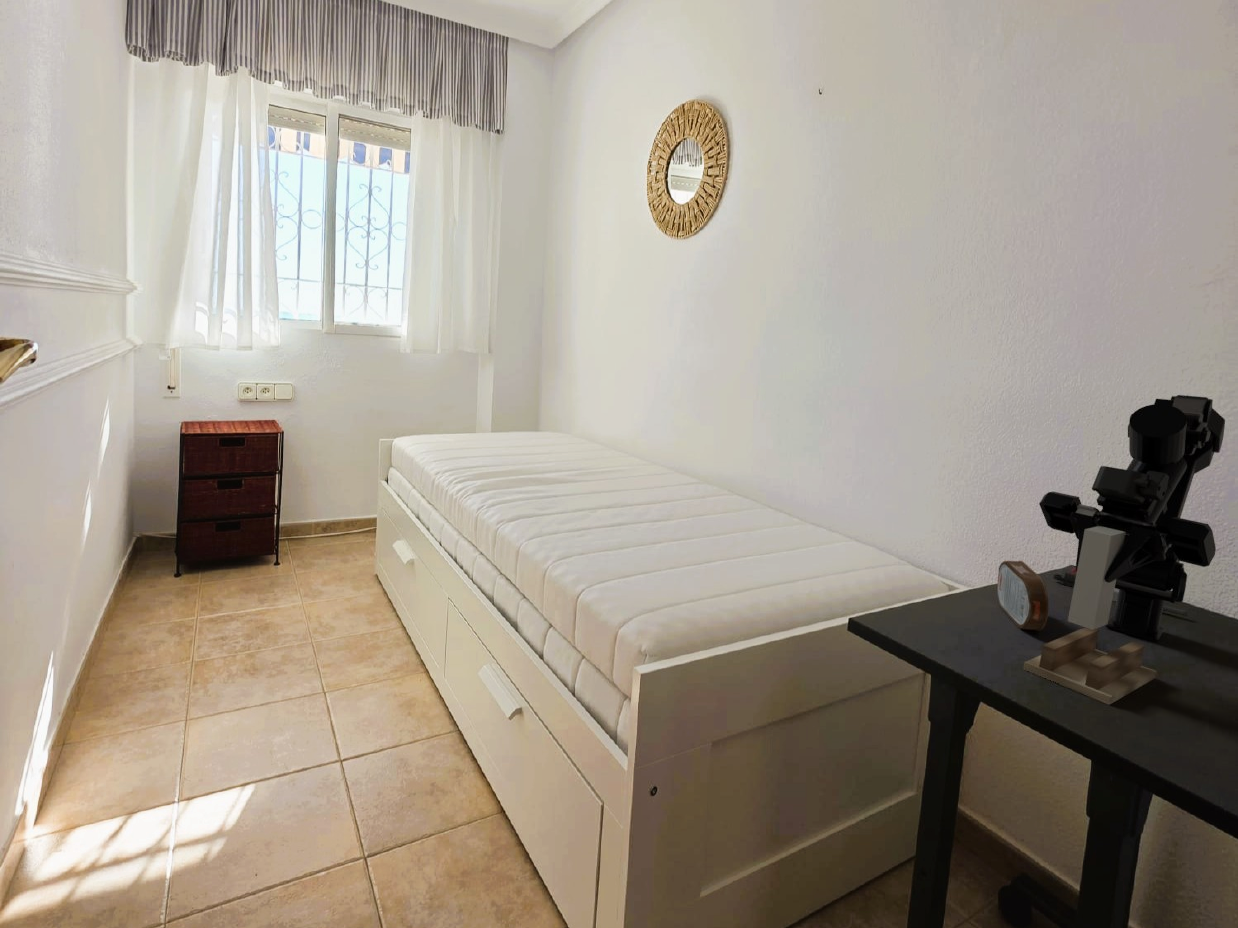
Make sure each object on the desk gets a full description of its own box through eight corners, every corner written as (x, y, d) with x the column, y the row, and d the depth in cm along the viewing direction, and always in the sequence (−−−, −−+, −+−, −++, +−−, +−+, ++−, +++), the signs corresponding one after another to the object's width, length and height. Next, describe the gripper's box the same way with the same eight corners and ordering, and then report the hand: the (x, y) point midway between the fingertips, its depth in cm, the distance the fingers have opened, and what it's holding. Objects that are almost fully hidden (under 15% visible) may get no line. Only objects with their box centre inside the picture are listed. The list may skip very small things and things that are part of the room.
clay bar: (1082, 615, 93) (1099, 525, 90) (1107, 624, 90) (1125, 532, 88) (1067, 621, 91) (1084, 529, 88) (1092, 629, 88) (1111, 535, 86)
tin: (1045, 640, 101) (1055, 585, 99) (1022, 637, 102) (1031, 582, 100) (1010, 602, 116) (1018, 554, 114) (990, 600, 116) (998, 552, 115)
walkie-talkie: (1047, 585, 127) (1184, 623, 112) (1051, 562, 126) (1190, 598, 111) (1063, 576, 132) (1195, 611, 118) (1067, 554, 132) (1201, 587, 117)
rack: (1071, 647, 99) (1076, 621, 98) (1154, 677, 91) (1160, 649, 90) (1023, 669, 91) (1028, 640, 90) (1109, 704, 83) (1115, 673, 82)
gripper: (1058, 434, 96) (1002, 519, 92) (1228, 458, 80) (1169, 561, 77) (1075, 485, 101) (1023, 567, 98) (1237, 517, 86) (1183, 616, 82)
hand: (1091, 576), depth 88 cm, fingers closed on clay bar, 3 cm apart
